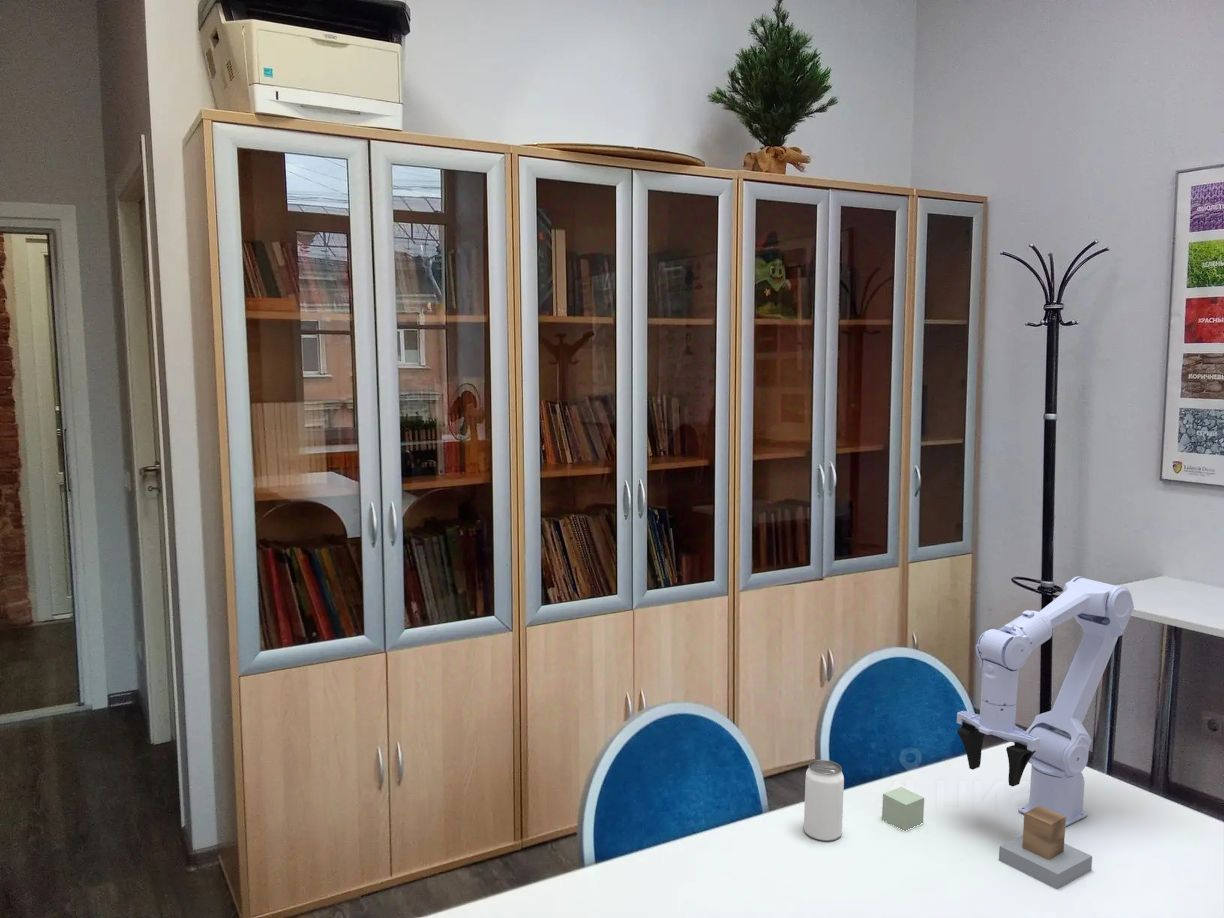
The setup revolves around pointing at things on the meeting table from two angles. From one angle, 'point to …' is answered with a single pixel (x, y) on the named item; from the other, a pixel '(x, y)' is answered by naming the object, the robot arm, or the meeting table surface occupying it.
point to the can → (824, 800)
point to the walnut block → (1044, 832)
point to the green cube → (903, 808)
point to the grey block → (1046, 863)
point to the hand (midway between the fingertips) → (993, 776)
